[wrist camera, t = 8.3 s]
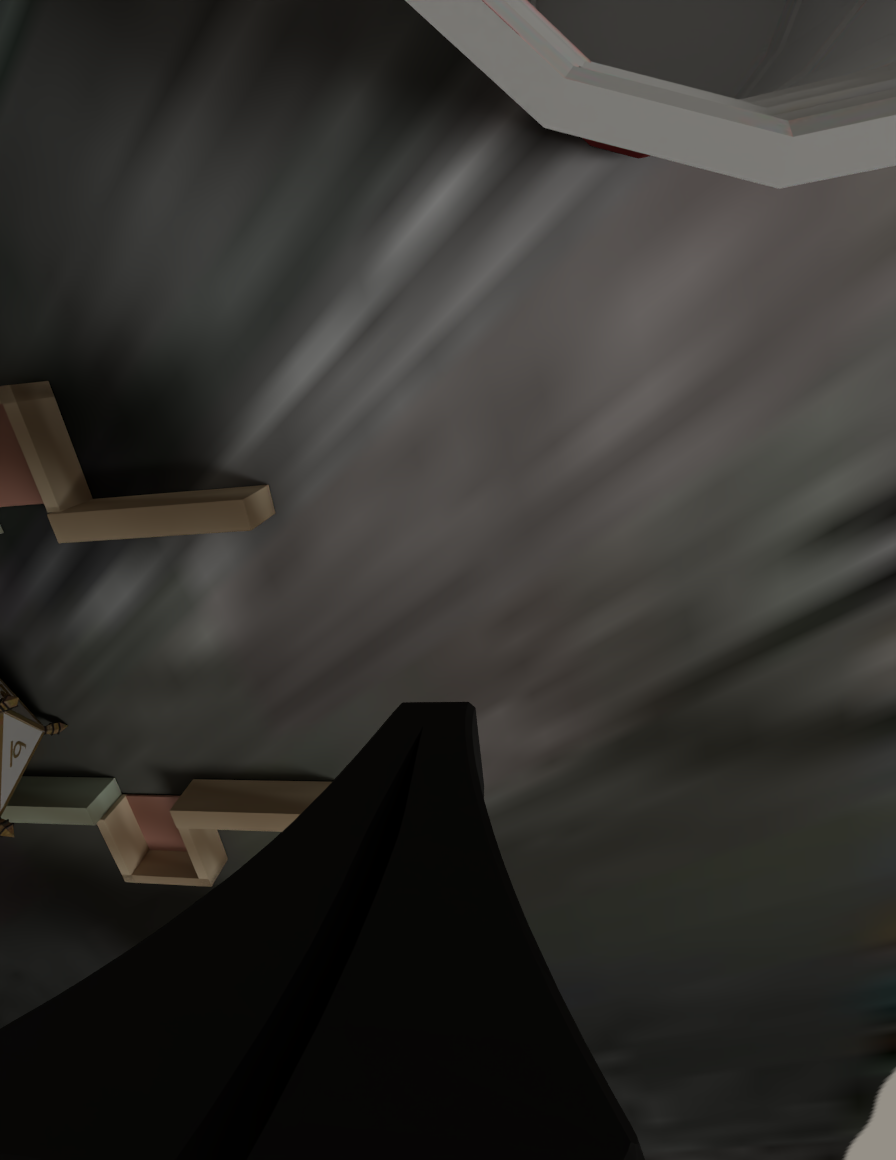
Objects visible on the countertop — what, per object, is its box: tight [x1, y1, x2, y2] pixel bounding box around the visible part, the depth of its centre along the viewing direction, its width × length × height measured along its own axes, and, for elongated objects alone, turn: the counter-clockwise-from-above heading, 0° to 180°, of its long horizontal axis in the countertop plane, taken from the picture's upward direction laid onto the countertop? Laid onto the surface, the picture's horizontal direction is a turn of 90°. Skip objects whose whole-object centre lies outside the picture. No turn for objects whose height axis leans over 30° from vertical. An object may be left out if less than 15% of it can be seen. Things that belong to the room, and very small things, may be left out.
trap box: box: [0, 381, 332, 887], centre depth 22 cm, size 22×22×3 cm
